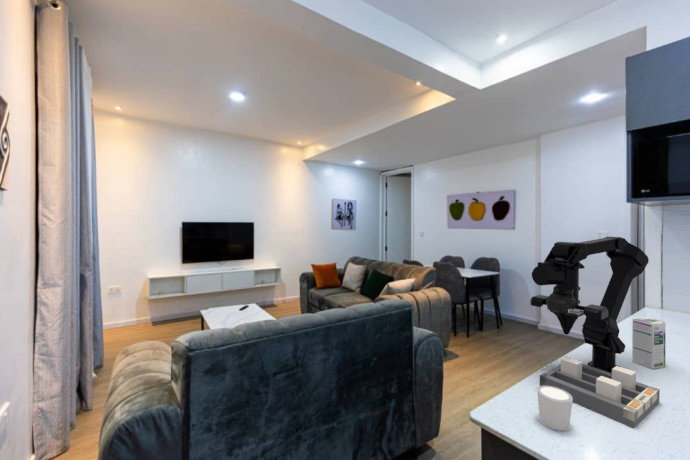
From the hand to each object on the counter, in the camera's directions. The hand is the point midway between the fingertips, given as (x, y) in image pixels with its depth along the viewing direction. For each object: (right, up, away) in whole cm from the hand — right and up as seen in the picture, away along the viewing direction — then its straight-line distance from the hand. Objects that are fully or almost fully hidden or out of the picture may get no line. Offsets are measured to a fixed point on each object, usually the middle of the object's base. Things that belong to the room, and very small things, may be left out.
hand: (566, 334), depth 95 cm
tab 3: (+6, -11, -13) cm, 18 cm away
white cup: (-19, -13, -23) cm, 33 cm away
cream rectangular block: (-2, -11, -18) cm, 21 cm away
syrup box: (+30, -12, +5) cm, 33 cm away
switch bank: (0, -12, -12) cm, 17 cm away
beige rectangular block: (-3, -10, -7) cm, 13 cm away
